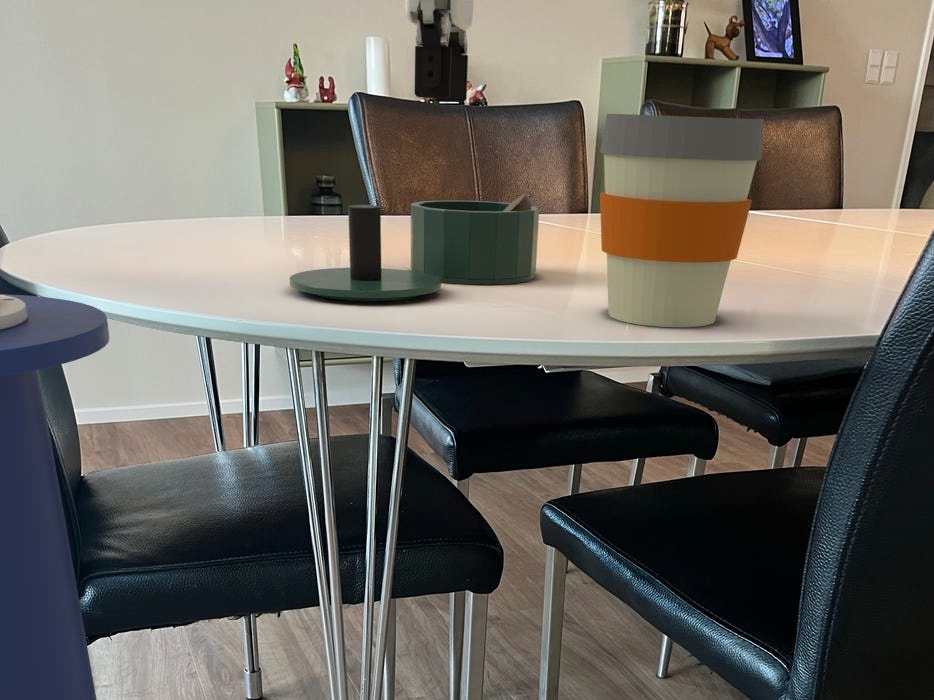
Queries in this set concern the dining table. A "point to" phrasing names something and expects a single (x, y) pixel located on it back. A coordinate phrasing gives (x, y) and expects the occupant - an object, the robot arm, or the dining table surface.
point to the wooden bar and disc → (520, 204)
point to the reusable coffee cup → (674, 213)
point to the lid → (365, 268)
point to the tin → (474, 242)
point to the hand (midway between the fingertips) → (441, 99)
